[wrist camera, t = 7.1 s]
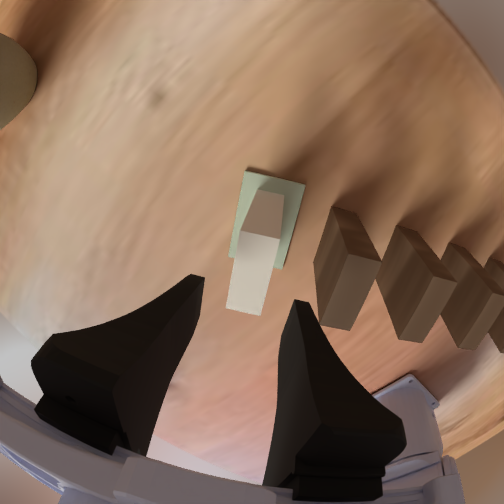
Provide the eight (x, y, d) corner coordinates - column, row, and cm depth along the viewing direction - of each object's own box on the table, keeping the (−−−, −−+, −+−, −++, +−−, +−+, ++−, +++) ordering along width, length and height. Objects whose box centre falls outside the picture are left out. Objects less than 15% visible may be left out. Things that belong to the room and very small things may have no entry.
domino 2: (355, 213, 20) (382, 262, 14) (336, 267, 22) (349, 330, 16) (331, 206, 20) (348, 253, 14) (313, 262, 22) (319, 324, 16)
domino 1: (284, 195, 20) (280, 239, 13) (270, 253, 22) (260, 316, 15) (257, 189, 20) (239, 230, 13) (245, 248, 22) (225, 307, 15)
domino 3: (416, 231, 20) (457, 282, 13) (394, 282, 22) (421, 343, 15) (396, 225, 20) (433, 276, 13) (374, 277, 22) (398, 339, 16)
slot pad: (305, 184, 19) (305, 185, 19) (282, 267, 22) (281, 269, 22) (245, 170, 19) (244, 171, 19) (228, 254, 22) (228, 256, 22)
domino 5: (501, 261, 19) (543, 307, 13) (479, 302, 21) (512, 353, 15) (489, 257, 19) (532, 304, 13) (466, 299, 22) (500, 352, 15)
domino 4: (464, 248, 20) (509, 297, 13) (441, 293, 22) (474, 350, 15) (448, 242, 20) (492, 292, 13) (426, 289, 22) (457, 348, 15)
